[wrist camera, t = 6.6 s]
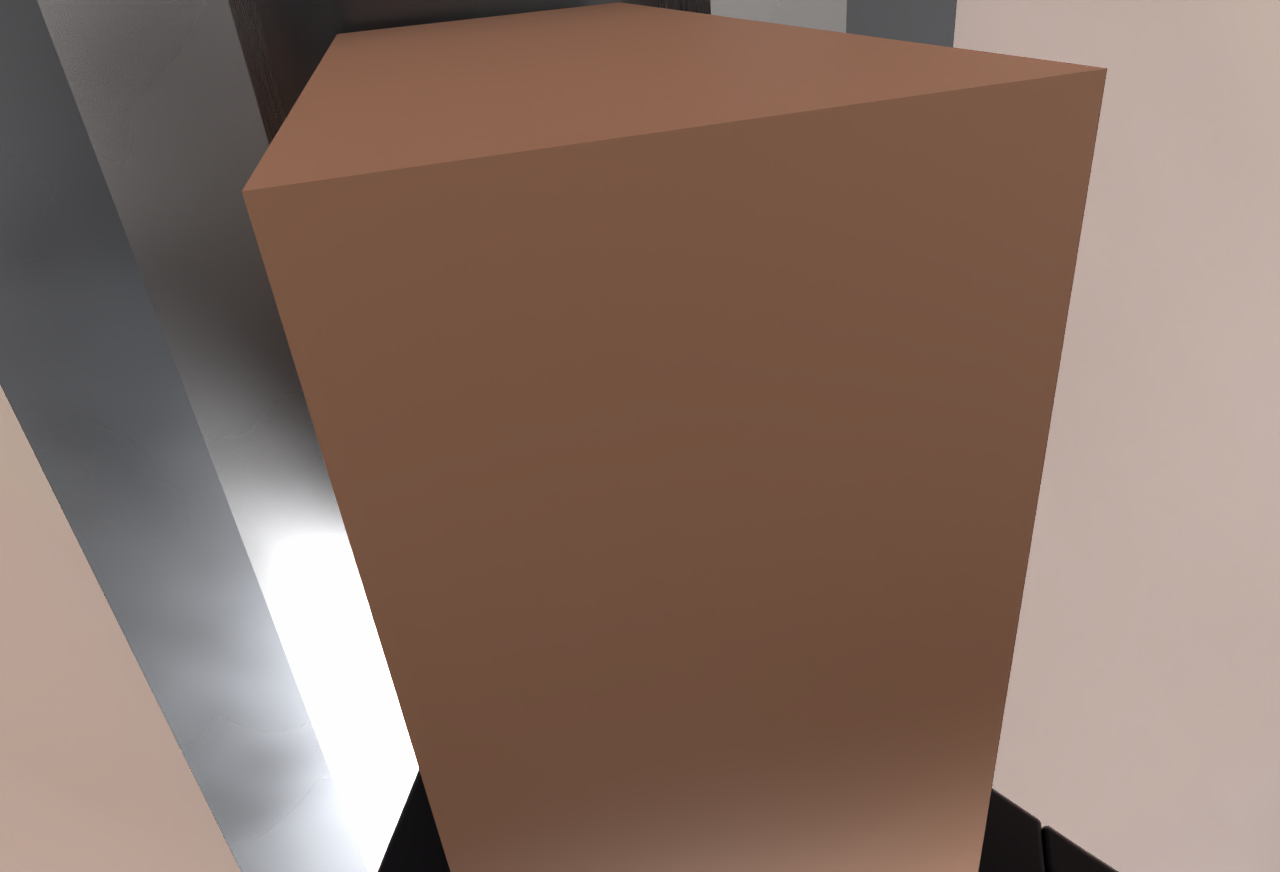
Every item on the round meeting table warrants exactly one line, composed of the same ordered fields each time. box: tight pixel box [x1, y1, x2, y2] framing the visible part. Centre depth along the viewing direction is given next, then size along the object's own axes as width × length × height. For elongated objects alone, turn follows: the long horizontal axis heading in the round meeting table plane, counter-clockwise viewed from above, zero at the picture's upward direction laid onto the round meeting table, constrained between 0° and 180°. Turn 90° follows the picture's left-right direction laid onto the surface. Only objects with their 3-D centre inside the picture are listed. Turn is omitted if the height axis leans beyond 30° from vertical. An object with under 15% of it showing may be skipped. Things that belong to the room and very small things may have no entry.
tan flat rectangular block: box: [242, 2, 1107, 872], centre depth 8 cm, size 2×12×6 cm, turn 5°
